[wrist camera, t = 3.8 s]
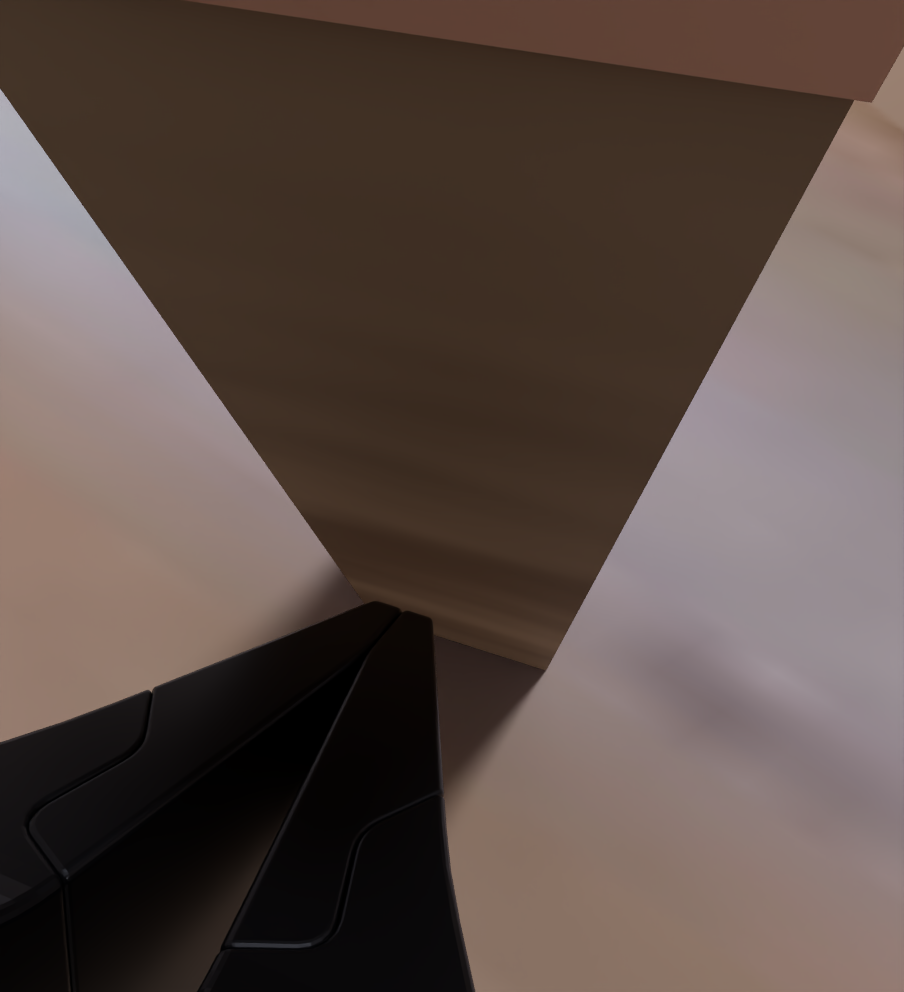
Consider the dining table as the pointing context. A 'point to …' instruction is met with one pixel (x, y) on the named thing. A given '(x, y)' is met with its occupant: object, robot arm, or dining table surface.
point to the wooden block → (449, 246)
